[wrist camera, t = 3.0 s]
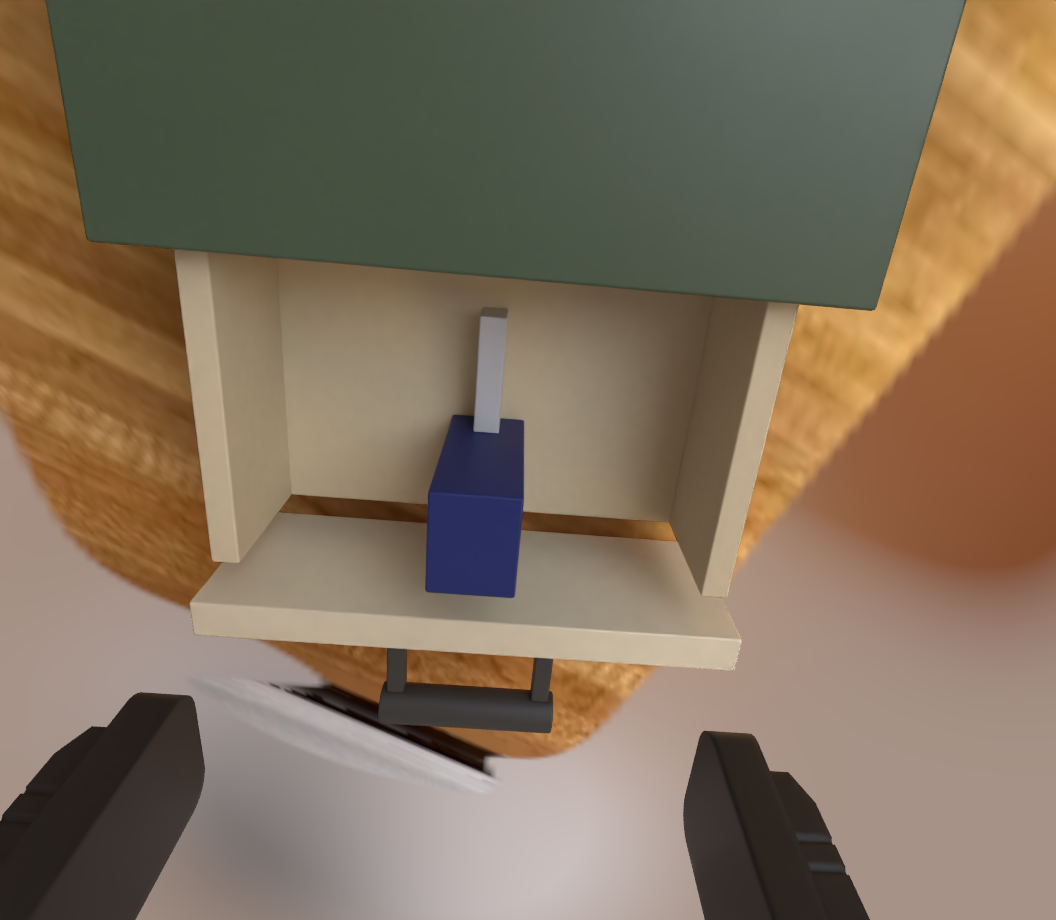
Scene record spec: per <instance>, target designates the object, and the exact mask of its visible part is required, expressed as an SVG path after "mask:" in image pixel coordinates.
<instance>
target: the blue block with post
mask: <svg viewBox="0 0 1056 920" xmlns="http://www.w3.org/2000/svg"><path fill="white" fill-rule="evenodd" d="M507 323H508V309H503V308H491V307H483V309H482V312H481V315H480V321H479V339H478V357H477V374H476V392H475V410H474V416H467V415H453V416H452V419H451V422H450V426H449V429H448V432H447V435H446V438H445V441H444V444H443V447H442V451H441V454H440V457H439V460H438V463H437V466H436V469H435V472H434V476H433V479H432V482H431V485H430V488H429V491H428V505H427V541H426V576H425V590H426V592H430V593H444V594H458V595H473V596H487V597H501V598H514V597H515V591H516V581H517V570H518V559H519V549H520V538H521V527H522V517H523V506H524V421H523V420H517V419H505V418H501V405H502V392H503V378H504V364H505V351H506V337H507Z"/></svg>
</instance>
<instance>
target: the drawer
mask: <svg viewBox="0 0 1056 920" xmlns="http://www.w3.org/2000/svg"><path fill="white" fill-rule="evenodd" d="M174 255H175V263H176V271H177V280H178V288H179V296H180V304H181V312H182V320H183V329H184V337H185V345H186V353H187V361H188V369H189V378H190V386H191V394H192V402H193V410H194V418H195V426H196V435H197V443H198V451H199V459H200V467H201V475H202V484H203V492H204V500H205V508H206V516H207V524H208V533H209V541H210V549H211V557H212V561H214V562H222V563H221V564H220V566H219V567H218V568H217V569H216V571H215V572H214V573H213V574H212V576H211V577H210V578H209V579H208V580H207V582H206V583H205V584H204V585H203V587H202V588H201V589H200V590H199V592H198V593H197V594H196V595H195V596H194V598H193V599H192V600H191V601H190V610H191V617H192V624H193V631H194V634H195V635H201V636H216V637H231V638H246V639H261V640H276V641H291V642H306V643H321V644H337V645H352V646H367V647H382V648H387V681H385V682H384V684H383V687H382V691H381V696H380V702H379V722H380V723H389V724H405V725H421V726H437V727H454V728H470V729H486V730H502V731H518V732H534V733H550V732H551V728H552V720H553V694H552V692H551V691H549V688H550V680H551V672H552V664H553V659H563V660H578V661H593V662H608V663H623V664H638V665H654V666H669V667H684V668H699V669H714V670H730V671H733V670H734V669H735V666H736V662H737V658H738V654H739V651H740V646H741V643H742V639H741V637H740V635H739V633H738V631H737V628H736V626H735V624H734V622H733V620H732V618H731V616H730V614H729V612H728V610H727V608H726V606H725V604H724V602H723V599H722V597H724V598H726V597H727V594H728V590H729V586H730V582H731V578H732V574H733V570H734V566H735V562H736V558H737V554H738V549H739V545H740V541H741V537H742V533H743V529H744V525H745V521H746V517H747V513H748V509H749V505H750V501H751V497H752V493H753V489H754V485H755V481H756V477H757V472H758V468H759V464H760V460H761V456H762V452H763V448H764V444H765V440H766V436H767V432H768V428H769V424H770V420H771V416H772V412H773V408H774V404H775V400H776V395H777V391H778V387H779V383H780V379H781V375H782V371H783V367H784V363H785V359H786V355H787V351H788V347H789V343H790V339H791V335H792V331H793V327H794V322H795V318H796V314H797V310H798V306H799V304H789V303H778V302H767V301H755V300H744V299H733V298H721V297H710V296H699V295H688V294H676V293H665V292H654V291H642V290H631V289H620V288H608V287H597V286H586V285H574V284H563V283H552V282H540V281H529V280H518V279H506V278H495V277H484V276H472V275H461V274H450V273H438V272H427V271H416V270H404V269H393V268H382V267H370V266H359V265H348V264H336V263H325V262H314V261H303V260H291V259H280V258H269V257H257V256H246V255H235V254H223V253H212V252H201V251H189V250H178V249H174ZM483 307H491V308H503V309H508V323H507V337H506V351H505V364H504V378H503V392H502V405H501V418H505V419H517V420H523V421H524V506H523V512H535V513H548V514H561V515H575V516H588V517H602V518H615V519H628V520H642V521H655V522H668V523H670V525H671V528H672V530H673V532H674V535H675V537H676V539H677V542H675V541H661V540H648V539H634V538H621V537H607V536H593V535H580V534H566V533H553V532H539V531H526V530H521V538H520V549H519V559H518V570H517V581H516V591H515V597H514V598H501V597H487V596H473V595H458V594H444V593H430V592H426V590H425V576H426V541H427V523H417V522H403V521H390V520H376V519H363V518H349V517H336V516H322V515H308V514H295V513H281V512H279V510H280V509H281V508H282V506H283V505H284V504H285V503H286V501H287V500H288V499H289V497H290V496H291V494H294V495H307V496H321V497H334V498H347V499H361V500H374V501H388V502H401V503H414V504H428V491H429V488H430V485H431V482H432V479H433V476H434V472H435V469H436V466H437V463H438V460H439V457H440V454H441V451H442V447H443V444H444V441H445V438H446V435H447V432H448V429H449V426H450V422H451V419H452V416H453V415H467V416H474V410H475V392H476V374H477V357H478V339H479V321H480V315H481V312H482V309H483ZM407 649H412V650H427V651H442V652H457V653H472V654H487V655H503V656H518V657H533V658H534V664H533V673H532V682H531V690H522V689H506V688H491V687H475V686H460V685H444V684H429V683H413V682H406V679H407Z"/></svg>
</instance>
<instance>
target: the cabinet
mask: <svg viewBox="0 0 1056 920" xmlns="http://www.w3.org/2000/svg"><path fill="white" fill-rule="evenodd" d="M965 3H966V0H46V6H47V12H48V18H49V23H50V29H51V35H52V41H53V47H54V52H55V58H56V64H57V70H58V76H59V82H60V87H61V93H62V99H63V105H64V111H65V116H66V122H67V128H68V134H69V140H70V145H71V151H72V157H73V163H74V169H75V175H76V180H77V186H78V192H79V198H80V204H81V209H82V215H83V221H84V227H85V233H86V238H87V240H89V241H91V242H99V243H110V244H121V245H133V246H144V247H155V248H167V249H178V250H189V251H201V252H212V253H223V254H235V255H246V256H257V257H269V258H280V259H291V260H303V261H314V262H325V263H336V264H348V265H359V266H370V267H382V268H393V269H404V270H416V271H427V272H438V273H450V274H461V275H472V276H484V277H495V278H506V279H518V280H529V281H540V282H552V283H563V284H574V285H586V286H597V287H608V288H620V289H631V290H642V291H654V292H665V293H676V294H688V295H699V296H710V297H721V298H733V299H744V300H755V301H767V302H778V303H789V304H801V305H812V306H823V307H835V308H846V309H857V310H869V311H872V310H875V308H876V306H877V303H878V299H879V296H880V293H881V289H882V286H883V282H884V279H885V276H886V272H887V269H888V265H889V262H890V259H891V255H892V252H893V248H894V245H895V242H896V238H897V235H898V231H899V228H900V224H901V221H902V218H903V214H904V211H905V207H906V204H907V201H908V197H909V194H910V190H911V187H912V184H913V180H914V177H915V173H916V170H917V167H918V163H919V160H920V156H921V153H922V149H923V146H924V143H925V139H926V136H927V132H928V129H929V126H930V122H931V119H932V115H933V112H934V109H935V105H936V102H937V98H938V95H939V92H940V88H941V85H942V81H943V78H944V74H945V71H946V68H947V64H948V61H949V57H950V54H951V51H952V47H953V44H954V40H955V37H956V34H957V30H958V27H959V23H960V20H961V17H962V13H963V10H964V6H965Z"/></svg>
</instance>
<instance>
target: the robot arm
mask: <svg viewBox="0 0 1056 920" xmlns="http://www.w3.org/2000/svg"><path fill="white" fill-rule="evenodd" d="M204 773H205V766H204V759H203V752H202V746H201V739H200V733H199V726H198V721H197V713H196V708H195V702H194V700H193V698H192V697H191V696H188V695H172V694H156V693H141V692H140V693H137V694H135V695H133V696H132V697H131V698H130V699H129V700H128V701H127V703H126V704H125V705H124V706H123V708H122V709H121V710H120V711H119V713H118V714H117V715H116V716H115V718H114V719H113V720H112V722H111V723H110V724H109V725H108V727H93V726H92V727H91V728H89V729H88V730H86V731H85V732H84V733H82V734H81V735H79V736H78V737H77V738H75V739H74V740H72V741H71V742H70V743H68V744H67V745H66V746H64V747H63V748H61V749H60V750H59V751H57V752H56V753H55V754H54V755H53V756H52V757H51V758H50V759H49V761H48V762H47V763H46V764H45V765H44V766H43V768H42V769H41V770H40V771H39V772H38V774H37V775H36V776H35V777H34V778H33V779H32V781H31V782H30V783H29V784H28V785H27V786H26V791H25V793H24V794H20V795H19V796H18V797H17V798H16V800H15V801H14V802H13V803H12V804H11V806H10V807H9V808H8V809H7V810H6V811H5V813H4V814H3V815H2V820H1V821H0V920H135V919H136V917H137V916H138V914H139V912H140V910H141V908H142V906H143V904H144V903H145V901H146V899H147V897H148V895H149V893H150V892H151V890H152V888H153V886H154V884H155V882H156V880H157V879H158V877H159V875H160V873H161V871H162V869H163V867H164V866H165V864H166V862H167V860H168V858H169V856H170V854H171V853H172V851H173V849H174V847H175V845H176V843H177V841H178V840H179V838H180V836H181V834H182V832H183V830H184V828H185V827H186V825H187V823H188V821H189V819H190V818H191V816H192V814H193V812H194V810H195V808H196V805H197V803H198V800H199V798H200V794H201V791H202V787H203V782H204ZM683 817H684V831H685V838H686V843H687V847H688V851H689V856H690V860H691V864H692V868H693V872H694V876H695V881H696V885H697V889H698V893H699V897H700V901H701V906H702V910H703V914H704V918H705V920H870V919H869V917H868V915H867V913H866V911H865V908H864V906H863V904H862V902H861V900H860V898H859V896H858V893H857V891H856V889H855V887H854V885H853V882H852V880H851V878H850V876H849V875H847V874H846V872H845V865H844V863H843V861H842V859H841V857H840V855H839V853H838V850H837V848H836V846H835V845H833V844H832V841H831V839H832V837H831V835H830V833H829V831H828V829H827V827H826V825H825V822H824V821H823V818H822V816H821V814H820V812H819V810H818V808H817V805H816V803H815V802H814V801H813V800H812V798H811V797H810V796H809V795H808V794H807V793H806V792H805V791H804V789H803V788H802V787H801V786H800V785H799V784H798V783H797V782H796V780H795V779H794V778H793V777H792V776H791V775H790V774H789V773H788V772H774V771H770V770H769V768H768V766H767V763H766V761H765V758H764V756H763V754H762V751H761V749H760V746H759V744H758V742H757V740H756V738H755V737H754V736H753V735H752V734H747V733H731V732H730V733H729V732H716V731H703V732H702V734H701V736H700V738H699V742H698V746H697V750H696V754H695V758H694V762H693V766H692V770H691V774H690V778H689V782H688V786H687V790H686V794H685V799H684V812H683Z"/></svg>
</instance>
